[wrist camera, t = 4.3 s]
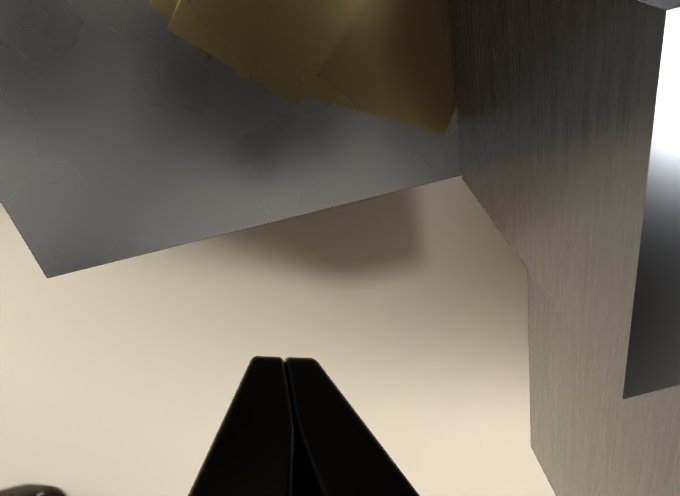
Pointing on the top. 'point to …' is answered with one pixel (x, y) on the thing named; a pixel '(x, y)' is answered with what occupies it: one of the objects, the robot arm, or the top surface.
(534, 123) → the grey and tan model
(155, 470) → the top surface
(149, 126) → the flange
